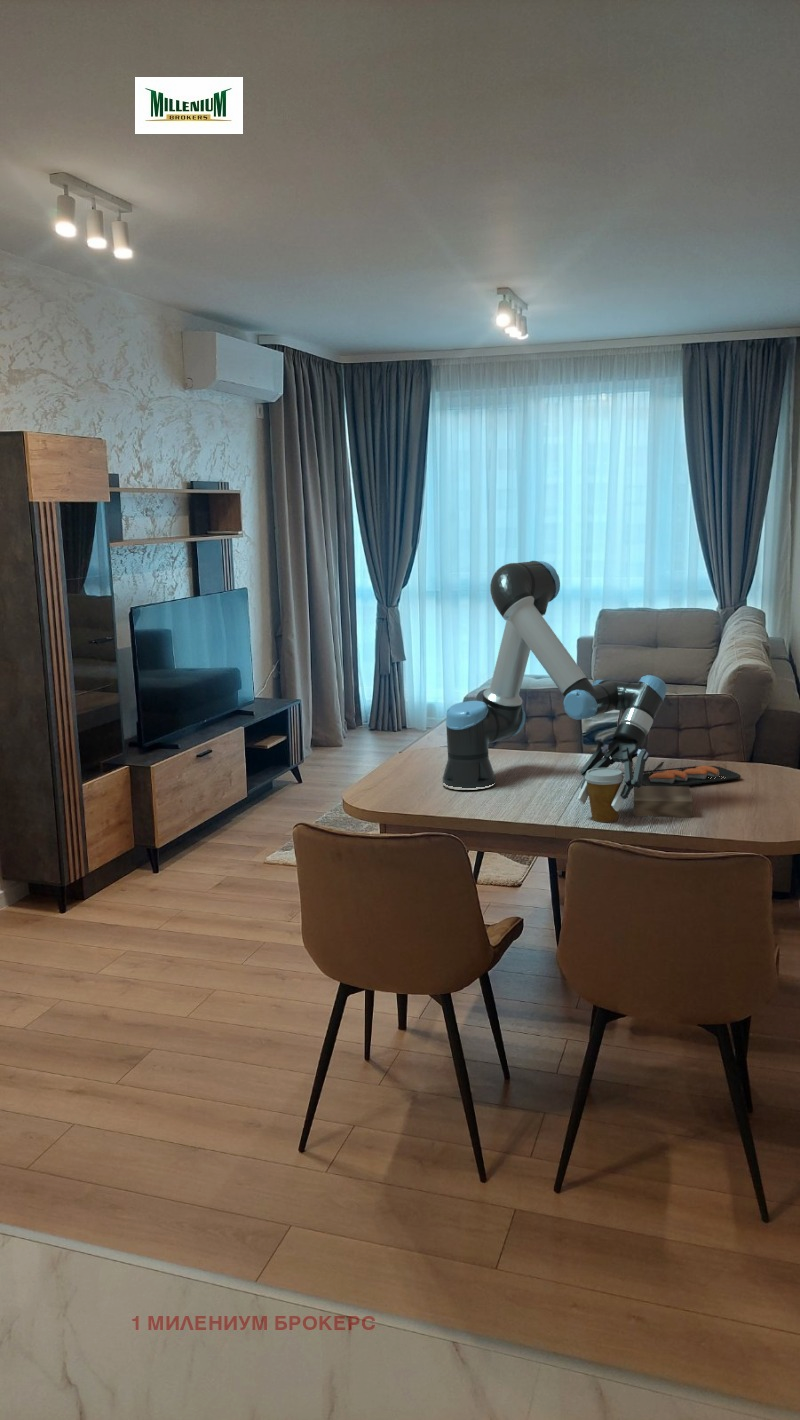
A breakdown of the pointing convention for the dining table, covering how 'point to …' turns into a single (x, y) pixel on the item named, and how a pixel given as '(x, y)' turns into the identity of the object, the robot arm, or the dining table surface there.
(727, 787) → the dining table surface
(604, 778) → the disposable coffee cup
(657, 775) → the sushi plate
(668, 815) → the walnut base
